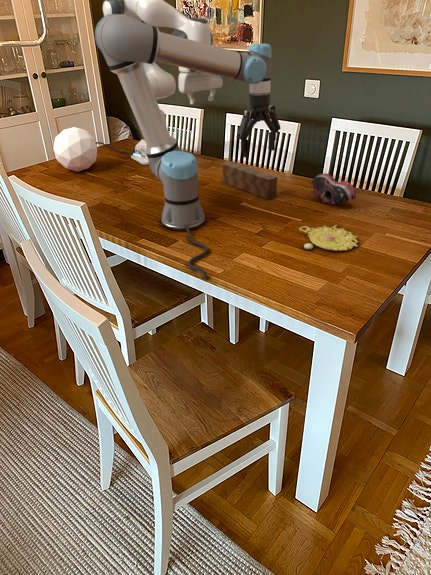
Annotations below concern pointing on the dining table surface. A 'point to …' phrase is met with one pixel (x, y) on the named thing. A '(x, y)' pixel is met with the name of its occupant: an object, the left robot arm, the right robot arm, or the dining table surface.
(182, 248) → the dining table surface
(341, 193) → the athletic shoe
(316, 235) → the decorative object
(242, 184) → the bar
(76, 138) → the sphere
